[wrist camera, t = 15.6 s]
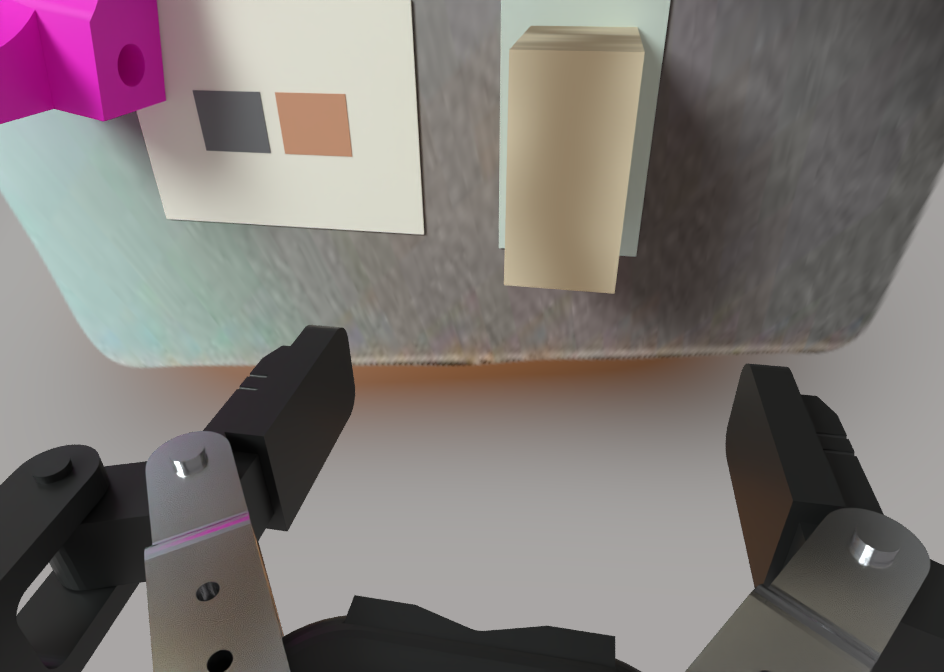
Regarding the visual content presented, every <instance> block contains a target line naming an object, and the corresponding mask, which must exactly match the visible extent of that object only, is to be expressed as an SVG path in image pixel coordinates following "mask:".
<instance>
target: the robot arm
mask: <svg viewBox="0 0 944 672" xmlns="http://www.w3.org/2000/svg"><path fill="white" fill-rule="evenodd" d="M354 399H355V384H354V377H353V370H352V363H351V356H350V349H349V342H348V336H347V333H346V330H345V329H344V328H340V327H329V326H317V325H308V326H306V327H305V328H304V330H303V331H302V332H301V334H300V335H299V336H298V337H297V339H296V340H295V341H294V343H293V344H292V345H291V346H281V347H280V348H278V349H276V350H275V351H273V352H272V353H270V354H268V355H267V356H265V357H264V358H262V359H261V361H260V362H259V363H258V364H257V365H256V367H255V368H254V369H253V370H252V372H251V373H250V377H247V378H246V379H245V380H244V382H243V383H242V384H241V385H240V389H237V390H236V391H235V392H234V394H233V395H232V396H231V397H230V398H229V400H228V401H227V402H226V403H225V404H224V406H223V407H222V408H221V409H220V411H219V412H218V413H217V414H216V416H215V417H214V418H213V419H212V420H211V422H210V423H209V424H208V425H207V427H206V428H205V429H204V430H203V431H198V432H191V433H187V434H183V435H180V436H177V437H175V438H173V439H171V440H169V441H167V442H165V443H164V444H163V445H161V446H160V447H158V448H157V449H156V450H155V451H154V452H153V453H152V455H151V456H150V457H149V459H148V461H146V462H139V463H129V464H121V465H113V466H105V467H104V466H103V463H102V461H101V459H100V457H99V454H98V452H97V451H96V450H95V449H93V448H91V447H89V446H86V445H66V446H61V447H57V448H53V449H50V450H48V451H45V452H42V453H40V454H38V455H36V456H34V457H33V458H31V459H29V460H28V461H26V462H25V463H23V464H22V465H21V466H20V467H19V468H18V469H17V470H15V471H14V472H13V473H12V474H11V475H10V476H9V477H8V478H7V479H6V480H5V481H4V482H3V483H2V484H1V485H0V672H81V671H82V670H83V668H84V666H85V665H86V663H87V662H88V661H89V659H90V658H91V656H92V655H93V653H94V651H95V650H96V648H97V647H98V645H99V644H100V642H101V641H102V639H103V638H104V636H105V635H106V633H107V632H108V630H109V629H110V627H111V625H112V624H113V622H114V621H115V619H116V618H117V616H118V615H119V613H120V612H121V610H122V608H123V607H124V606H125V604H126V603H127V601H128V600H129V598H130V597H131V595H132V593H133V592H134V590H135V589H136V587H137V586H138V584H139V583H140V582H146V586H147V597H148V610H149V623H150V635H151V647H152V660H153V672H641V671H639V670H637V669H636V668H634V667H632V666H630V665H628V664H627V663H624V662H622V661H620V660H618V659H615V636H609V635H602V634H596V633H590V632H584V631H577V630H571V629H564V628H558V627H552V626H540V627H527V628H515V629H503V630H491V631H477V630H473V629H470V628H468V627H465V626H463V625H461V624H458V623H456V622H454V621H451V620H449V619H447V618H444V617H442V616H440V615H438V614H435V613H433V612H431V611H428V610H426V609H424V608H421V607H419V606H417V605H413V604H406V603H400V602H394V601H387V600H381V599H374V598H368V597H362V596H356V595H355V596H354V598H353V601H352V603H351V606H350V609H349V611H348V614H347V616H338V617H334V618H329V619H324V620H321V621H318V622H315V623H311V624H309V625H306V626H304V627H302V628H299V629H297V630H295V631H293V632H291V633H289V634H288V635H286V636H284V634H283V630H282V627H281V623H280V619H279V616H278V612H277V608H276V605H275V601H274V598H273V594H272V590H271V587H270V583H269V579H268V575H267V572H266V568H265V564H264V561H263V557H262V554H261V550H260V546H259V543H258V541H259V539H260V537H261V536H262V534H263V532H264V530H265V529H266V528H267V529H274V530H282V531H288V529H289V528H290V526H291V524H292V522H293V520H294V518H295V517H296V515H297V513H298V511H299V509H300V507H301V505H302V504H303V502H304V500H305V498H306V496H307V494H308V493H309V491H310V489H311V487H312V485H313V483H314V481H315V480H316V478H317V476H318V474H319V472H320V470H321V469H322V467H323V465H324V463H325V461H326V459H327V457H328V456H329V454H330V452H331V450H332V448H333V447H334V445H335V443H336V441H337V439H338V437H339V435H340V434H341V432H342V430H343V428H344V426H345V424H346V422H347V421H348V419H349V417H350V415H351V412H352V409H353V405H354ZM846 436H847V435H846V433H845V431H844V428H843V426H842V424H841V422H840V420H839V418H838V416H837V414H836V413H835V412H834V411H833V410H831V409H830V408H829V407H828V406H827V405H826V404H825V403H824V402H823V401H822V400H821V399H820V398H818V397H817V396H810V395H801V394H800V392H799V390H798V387H797V384H796V382H795V380H794V377H793V375H792V372H791V370H790V369H789V368H788V367H781V366H769V365H757V364H746V365H745V366H744V367H743V369H742V372H741V375H740V379H739V384H738V387H737V391H736V395H735V399H734V403H733V407H732V411H731V415H730V418H729V422H728V427H727V433H726V457H727V462H728V467H729V472H730V476H731V481H732V485H733V490H734V495H735V499H736V504H737V508H738V513H739V517H740V522H741V527H742V531H743V536H744V540H745V545H746V549H747V554H748V559H749V564H750V568H751V573H752V578H753V582H754V587H755V589H754V590H753V591H752V592H751V593H750V594H749V596H748V597H747V598H746V599H745V600H744V602H743V603H742V604H741V605H740V606H739V608H738V609H737V610H736V611H735V612H734V614H733V615H732V616H731V617H730V618H729V620H728V621H727V622H726V623H725V624H724V626H723V627H722V628H721V629H720V630H719V632H718V633H717V634H716V635H715V636H714V638H713V639H712V640H711V641H710V642H709V644H708V645H707V646H706V647H705V648H704V650H703V651H702V652H701V653H700V654H699V656H698V657H697V658H696V659H695V660H694V662H693V663H692V664H691V665H690V667H689V668H688V669H687V670H686V671H685V672H944V565H942V564H939V563H937V562H935V561H933V560H931V559H930V558H929V555H928V553H927V550H926V548H925V547H924V545H923V544H922V543H921V541H920V540H919V539H918V538H917V537H916V536H915V535H914V534H913V533H912V532H911V531H910V530H908V529H907V528H906V527H904V526H903V525H902V524H900V523H898V522H897V521H895V520H893V519H891V518H889V517H887V516H885V515H884V514H883V512H882V510H881V508H880V506H879V503H878V501H877V499H876V497H875V495H874V493H873V491H872V488H871V486H870V484H869V482H868V480H867V478H866V476H865V473H864V471H863V469H862V467H861V465H860V463H859V460H858V458H857V457H856V456H854V450H853V448H852V445H851V443H850V441H849V439H846ZM48 563H50V565H51V567H52V569H53V571H52V572H51V574H50V575H49V576H48V577H47V578H46V580H45V581H44V582H43V584H42V585H41V586H40V587H39V588H38V590H37V591H36V592H35V593H34V595H33V596H32V597H31V598H30V600H29V601H28V602H27V603H26V605H25V606H24V607H23V608H22V610H21V611H20V612H19V613H18V615H17V616H16V614H17V607H18V604H19V602H20V599H21V597H22V596H23V594H24V592H25V591H26V590H27V588H28V587H29V586H30V585H31V583H32V582H33V581H34V580H35V578H36V577H37V576H38V575H39V574H40V572H41V571H42V570H43V569H44V568H45V566H46V565H47V564H48Z"/></svg>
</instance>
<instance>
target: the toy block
mask: <svg viewBox="0 0 944 672" xmlns="http://www.w3.org/2000/svg"><path fill="white" fill-rule="evenodd" d="M164 101H166V94H165V84H164V73H163V62H162V52H161V41H160V30H159V19H158V9H157V0H0V124H2V123H6V122H9V121H13V120H16V119H20V118H23V117H27V116H30V115H34V114H37V113H41V112H44V111H48V110H51V109H57V110H61V111H65V112H69V113H73V114H77V115H81V116H85V117H89V118H93V119H96V120H100V121H107V120H110V119H113V118H116V117H119V116H122V115H125V114H128V113H131V112H134V111H137V110H140V109H143V108H146V107H149V106H152V105H155V104H158V103H161V102H164Z"/></svg>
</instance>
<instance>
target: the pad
mask: <svg viewBox="0 0 944 672" xmlns="http://www.w3.org/2000/svg"><path fill="white" fill-rule="evenodd" d="M669 8H670V0H501V68H500V173H499V248H505V219H506V173H507V127H508V81H509V49H510V48H511V47H512V46H513V45H514V44H515V43H516V41H517V40H518V39H519V38H520V37H521V36H522V35H523V34H524V33H525V31H526V30H527V29H528V28H529V27H530V26H595V27H638V31H639V34H640V37H641V41H642V44H643V48H644V51H645V55H644V63H643V70H642V78H641V86H640V94H639V102H638V110H637V118H636V126H635V134H634V142H633V150H632V158H631V166H630V174H629V182H628V190H627V198H626V206H625V214H624V222H623V230H622V238H621V246H620V253H619V256H632V257H636V254H637V246H638V239H639V231H640V224H641V216H642V209H643V201H644V194H645V187H646V179H647V172H648V164H649V157H650V149H651V142H652V134H653V127H654V119H655V112H656V105H657V97H658V90H659V82H660V75H661V67H662V60H663V52H664V45H665V37H666V30H667V23H668V15H669Z"/></svg>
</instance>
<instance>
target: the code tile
mask: <svg viewBox="0 0 944 672" xmlns="http://www.w3.org/2000/svg"><path fill="white" fill-rule="evenodd" d="M157 9H158V19H159V30H160V41H161V52H162V62H163V73H164V84H165V94H166V101H164V102H161V103H158V104H155V105H152V106H149V107H146V108H143V109H140V110H137V111H136V112H137V115H138V119H139V122H140V126H141V129H142V133H143V136H144V140H145V144H146V147H147V151H148V154H149V158H150V161H151V165H152V168H153V172H154V175H155V179H156V183H157V186H158V190H159V193H160V197H161V200H162V204H163V207H164V211H165V215H166V218H167V219H177V220H193V221H209V222H226V223H242V224H259V225H275V226H291V227H308V228H324V229H341V230H357V231H373V232H390V233H406V234H422V235H424V218H423V201H422V183H421V165H420V148H419V130H418V112H417V95H416V77H415V59H414V42H413V24H412V7H411V0H157Z"/></svg>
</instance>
